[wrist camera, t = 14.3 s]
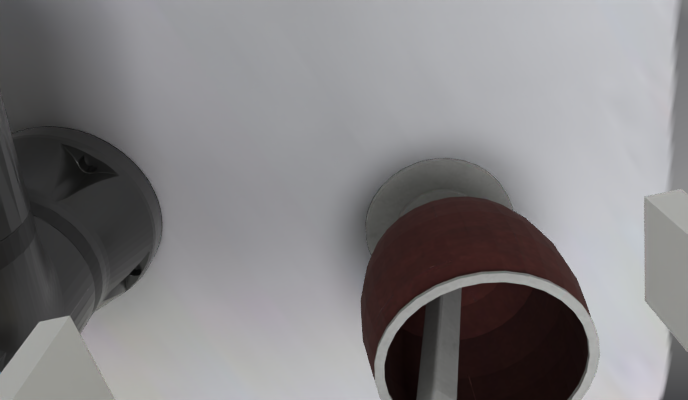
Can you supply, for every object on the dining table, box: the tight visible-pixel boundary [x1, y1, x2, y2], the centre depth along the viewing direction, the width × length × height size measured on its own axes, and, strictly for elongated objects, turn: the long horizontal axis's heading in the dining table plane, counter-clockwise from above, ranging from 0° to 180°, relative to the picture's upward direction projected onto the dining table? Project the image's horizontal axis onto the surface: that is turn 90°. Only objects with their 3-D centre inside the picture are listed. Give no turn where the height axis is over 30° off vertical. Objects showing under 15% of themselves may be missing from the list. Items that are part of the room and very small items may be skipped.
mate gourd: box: [361, 158, 600, 400], centre depth 39 cm, size 16×14×20 cm
